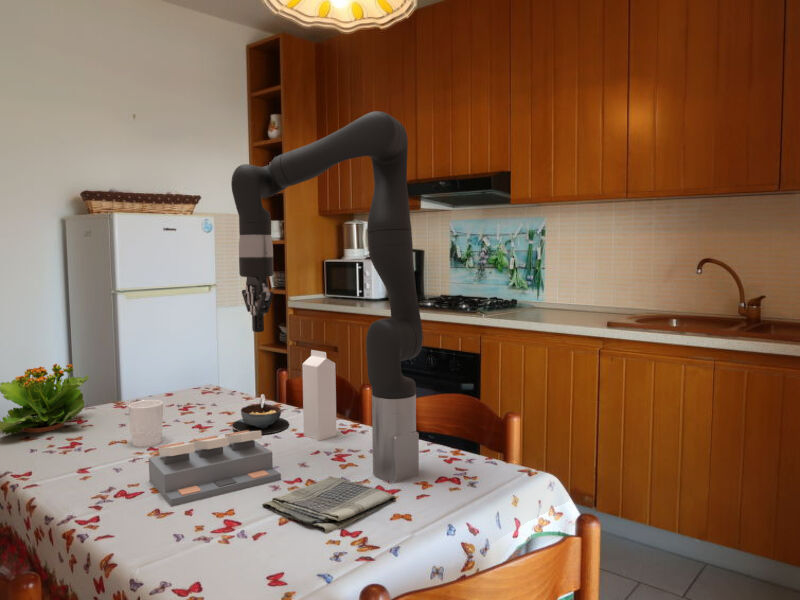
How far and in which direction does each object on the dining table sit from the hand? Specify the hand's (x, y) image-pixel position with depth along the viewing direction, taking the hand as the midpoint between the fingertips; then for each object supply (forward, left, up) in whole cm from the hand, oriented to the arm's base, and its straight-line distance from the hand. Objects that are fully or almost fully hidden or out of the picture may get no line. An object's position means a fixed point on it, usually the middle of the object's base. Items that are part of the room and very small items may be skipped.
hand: (258, 331), depth 140 cm
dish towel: (-34, +1, -30) cm, 45 cm away
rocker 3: (-7, +7, -22) cm, 24 cm away
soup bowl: (+22, -9, -30) cm, 38 cm away
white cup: (+26, +19, -29) cm, 43 cm away
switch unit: (-7, +14, -29) cm, 33 cm away
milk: (+5, -18, -29) cm, 35 cm away
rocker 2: (-7, +14, -22) cm, 27 cm away
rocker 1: (-7, +21, -22) cm, 31 cm away
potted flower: (+58, +38, -29) cm, 75 cm away
